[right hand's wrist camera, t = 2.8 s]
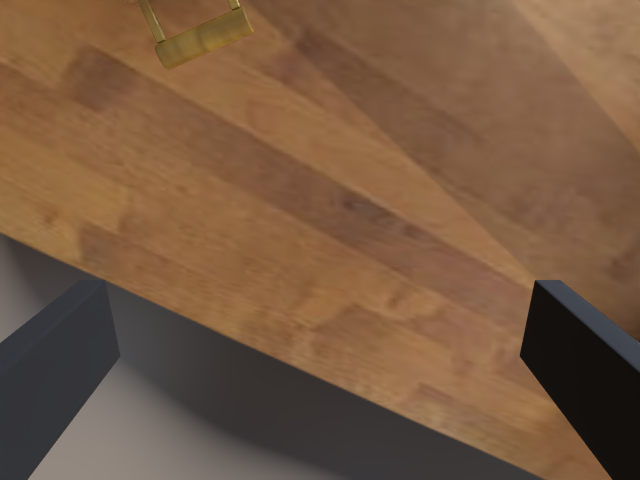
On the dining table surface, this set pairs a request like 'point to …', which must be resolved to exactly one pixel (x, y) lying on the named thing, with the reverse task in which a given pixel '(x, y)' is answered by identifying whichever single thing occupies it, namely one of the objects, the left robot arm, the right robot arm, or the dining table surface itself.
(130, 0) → the drawer
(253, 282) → the dining table surface
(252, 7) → the dining table surface
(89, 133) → the dining table surface
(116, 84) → the dining table surface
